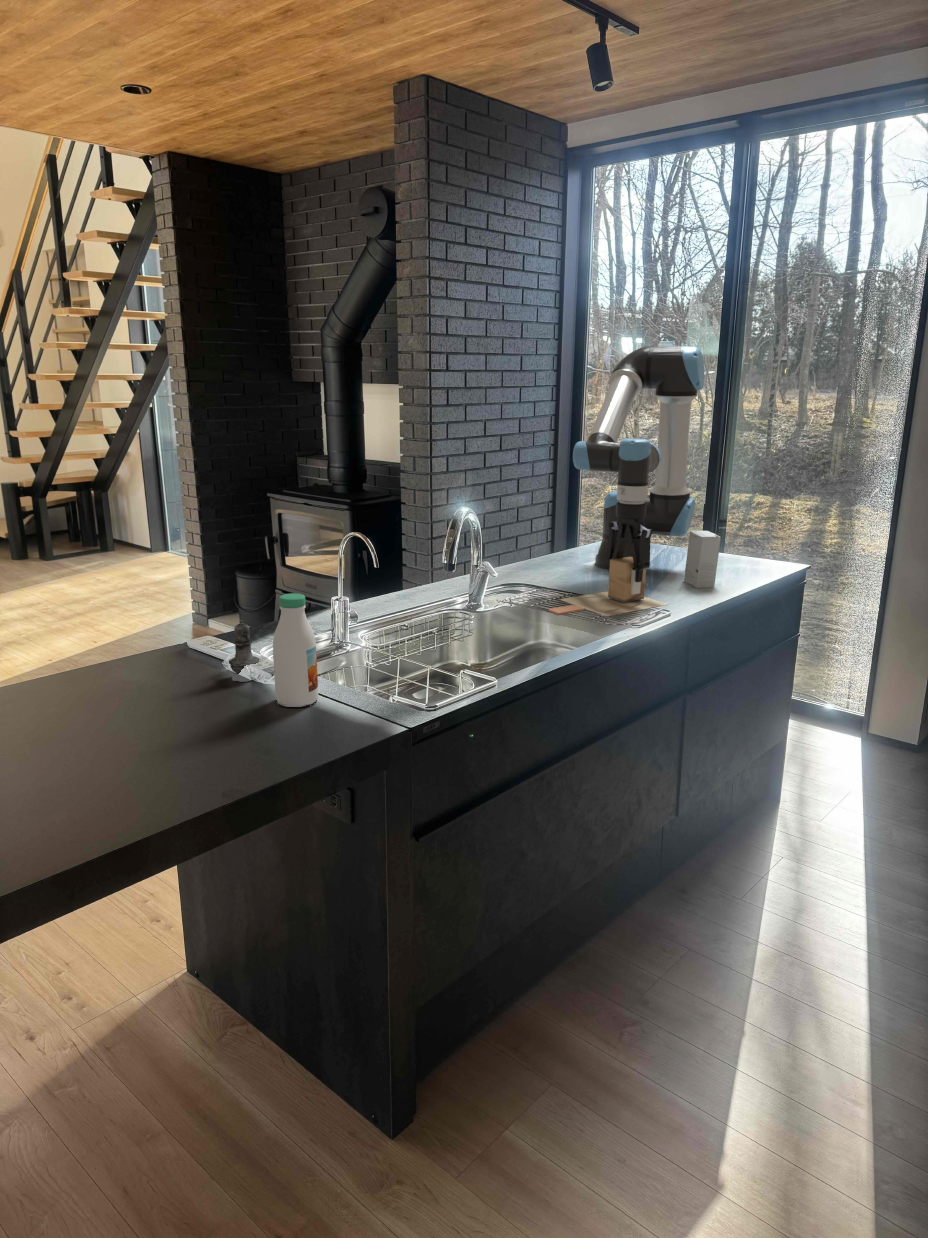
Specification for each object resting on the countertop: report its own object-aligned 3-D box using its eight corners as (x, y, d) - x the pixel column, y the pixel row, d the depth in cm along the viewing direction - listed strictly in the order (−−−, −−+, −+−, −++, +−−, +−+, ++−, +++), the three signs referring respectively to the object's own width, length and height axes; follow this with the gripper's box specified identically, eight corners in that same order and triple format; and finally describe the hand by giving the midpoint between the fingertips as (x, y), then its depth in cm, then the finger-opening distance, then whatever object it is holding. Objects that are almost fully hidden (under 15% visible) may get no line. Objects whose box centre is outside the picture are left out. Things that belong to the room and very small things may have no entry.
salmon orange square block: (560, 614, 217) (561, 606, 216) (571, 618, 213) (571, 610, 213) (548, 616, 214) (548, 609, 214) (558, 620, 211) (558, 612, 211)
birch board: (620, 593, 236) (620, 588, 235) (668, 608, 221) (668, 604, 221) (559, 603, 225) (559, 599, 224) (606, 620, 210) (606, 616, 210)
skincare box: (683, 581, 249) (687, 530, 245) (702, 580, 251) (707, 529, 246) (696, 588, 242) (701, 535, 237) (716, 587, 243) (721, 535, 239)
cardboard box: (628, 593, 229) (630, 556, 226) (644, 598, 224) (646, 560, 221) (607, 597, 225) (610, 559, 222) (623, 602, 220) (626, 563, 218)
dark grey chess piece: (233, 684, 167) (229, 625, 163) (226, 675, 172) (222, 617, 168) (263, 680, 169) (260, 621, 166) (256, 670, 174) (252, 613, 171)
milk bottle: (298, 712, 154) (293, 603, 148) (266, 703, 158) (260, 597, 152) (327, 699, 160) (323, 594, 154) (296, 690, 164) (290, 588, 158)
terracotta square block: (573, 612, 219) (573, 604, 218) (583, 615, 215) (584, 608, 215) (561, 614, 217) (561, 606, 216) (571, 618, 213) (571, 610, 213)
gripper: (595, 497, 223) (590, 585, 230) (647, 508, 208) (641, 601, 214) (617, 495, 227) (612, 581, 234) (669, 505, 212) (663, 597, 218)
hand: (626, 590), depth 224 cm, fingers closed on cardboard box, 6 cm apart
